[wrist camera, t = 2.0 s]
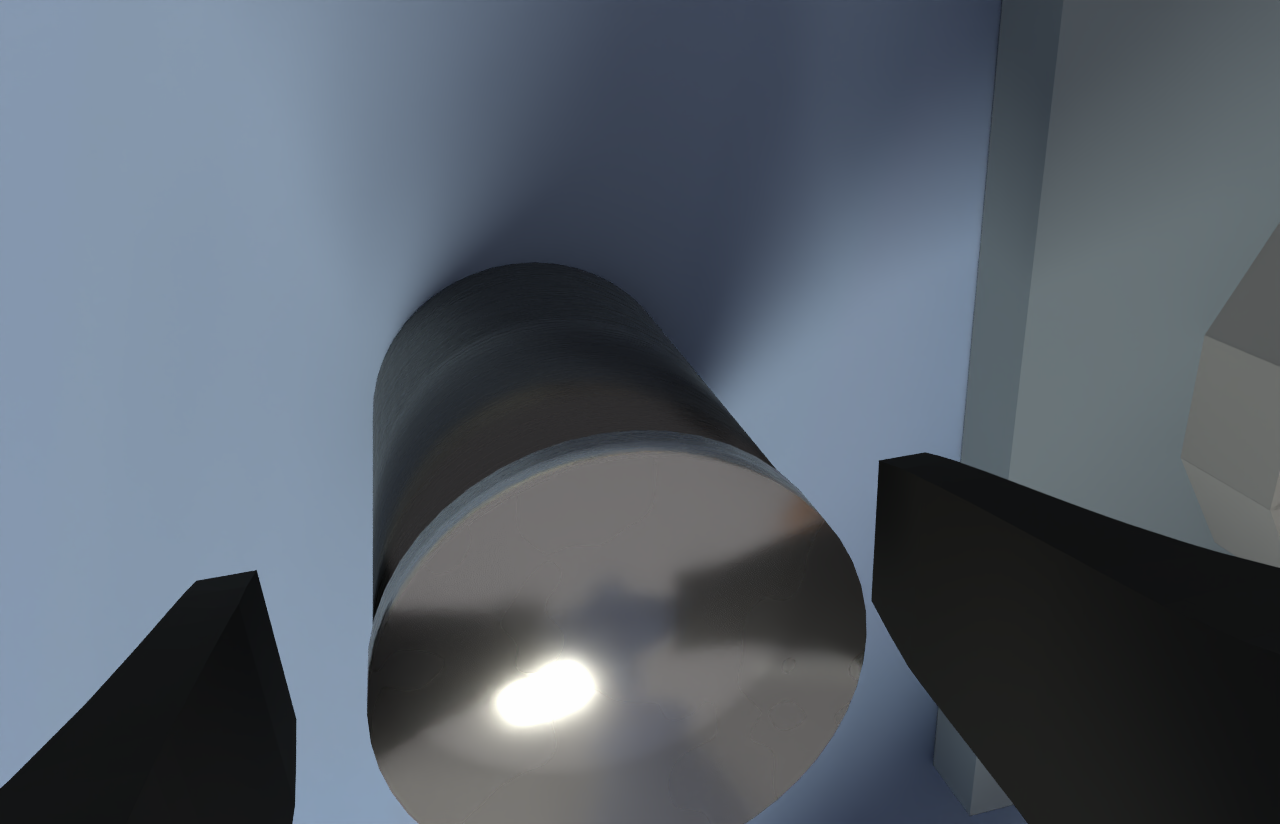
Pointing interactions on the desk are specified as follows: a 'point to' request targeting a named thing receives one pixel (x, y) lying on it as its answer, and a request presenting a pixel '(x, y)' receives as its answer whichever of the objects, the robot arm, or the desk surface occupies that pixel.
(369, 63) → the desk surface
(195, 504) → the desk surface
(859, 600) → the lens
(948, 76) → the desk surface
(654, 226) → the desk surface
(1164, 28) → the mount plate
